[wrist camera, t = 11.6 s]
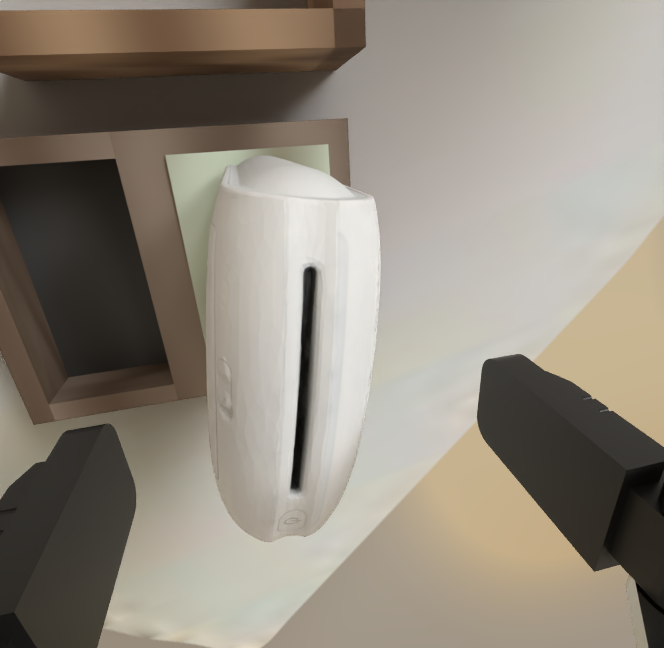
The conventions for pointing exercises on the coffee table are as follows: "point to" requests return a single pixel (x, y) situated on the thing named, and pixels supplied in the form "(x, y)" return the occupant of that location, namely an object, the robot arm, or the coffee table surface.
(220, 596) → the coffee table surface
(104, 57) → the wooden cubby shelf
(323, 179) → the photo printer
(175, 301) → the two-compartment wooden organizer
